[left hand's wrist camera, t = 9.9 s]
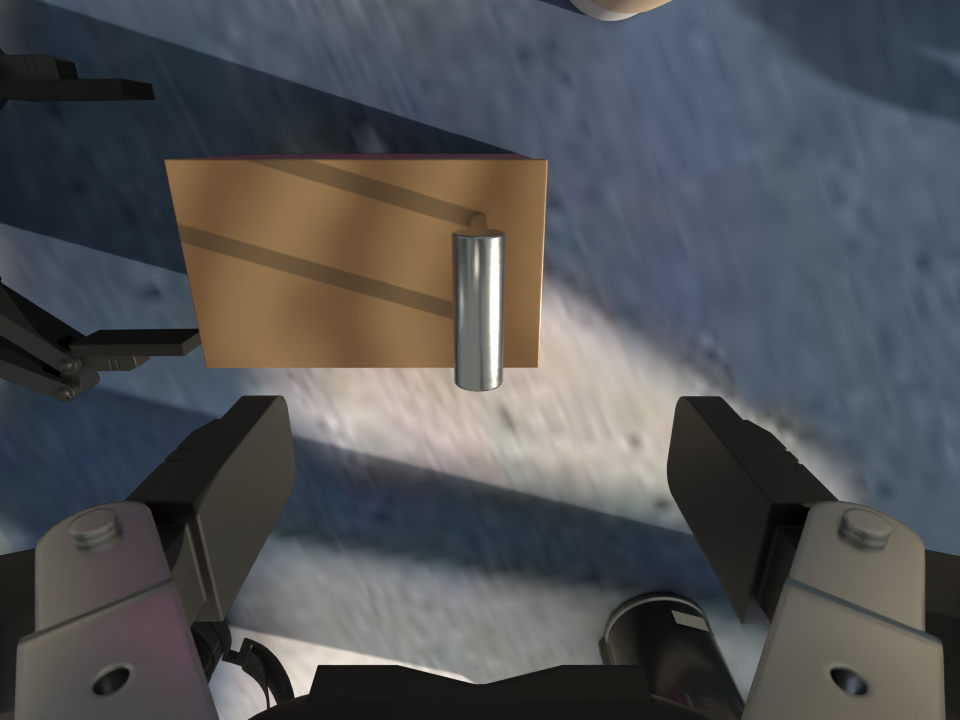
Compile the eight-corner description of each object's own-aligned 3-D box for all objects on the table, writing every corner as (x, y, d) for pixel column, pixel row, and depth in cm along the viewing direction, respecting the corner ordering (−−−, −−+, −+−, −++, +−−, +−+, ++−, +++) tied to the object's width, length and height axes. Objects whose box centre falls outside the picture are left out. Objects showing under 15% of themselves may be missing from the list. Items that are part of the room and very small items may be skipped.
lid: (545, 158, 25) (575, 166, 17) (536, 361, 28) (558, 443, 21) (174, 158, 25) (34, 166, 17) (214, 361, 28) (114, 443, 21)
